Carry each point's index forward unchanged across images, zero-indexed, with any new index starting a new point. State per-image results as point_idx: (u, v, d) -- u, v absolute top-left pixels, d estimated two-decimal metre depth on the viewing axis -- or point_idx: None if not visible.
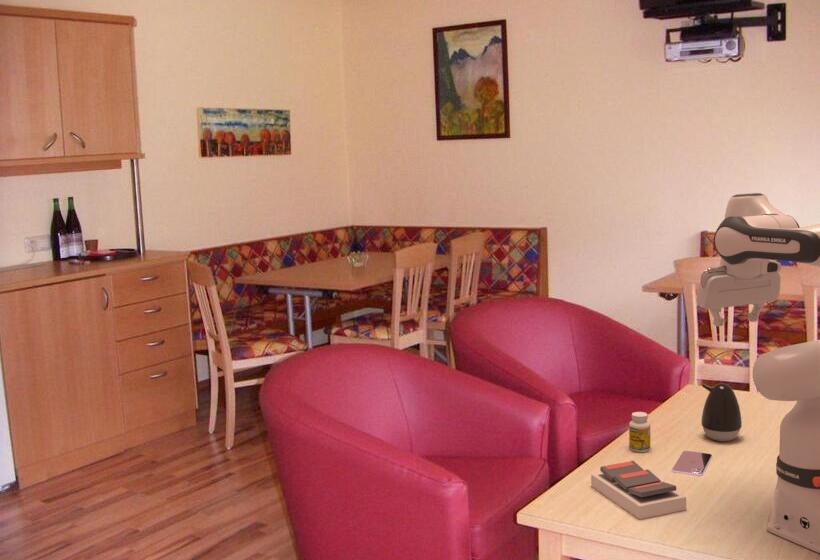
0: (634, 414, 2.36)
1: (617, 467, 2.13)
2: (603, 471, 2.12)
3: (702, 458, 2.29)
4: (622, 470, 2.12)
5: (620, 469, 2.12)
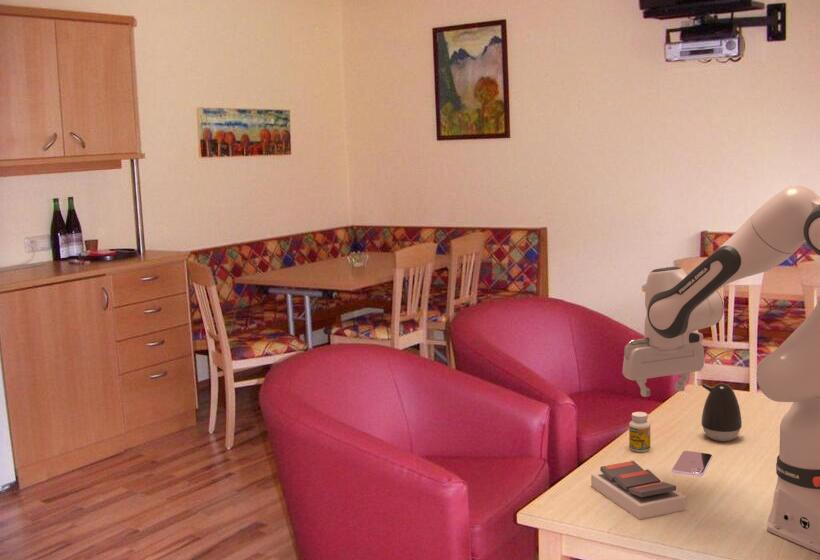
0: (634, 414, 2.36)
1: (617, 467, 2.13)
2: (603, 471, 2.12)
3: (702, 458, 2.29)
4: (622, 470, 2.12)
5: (620, 469, 2.12)
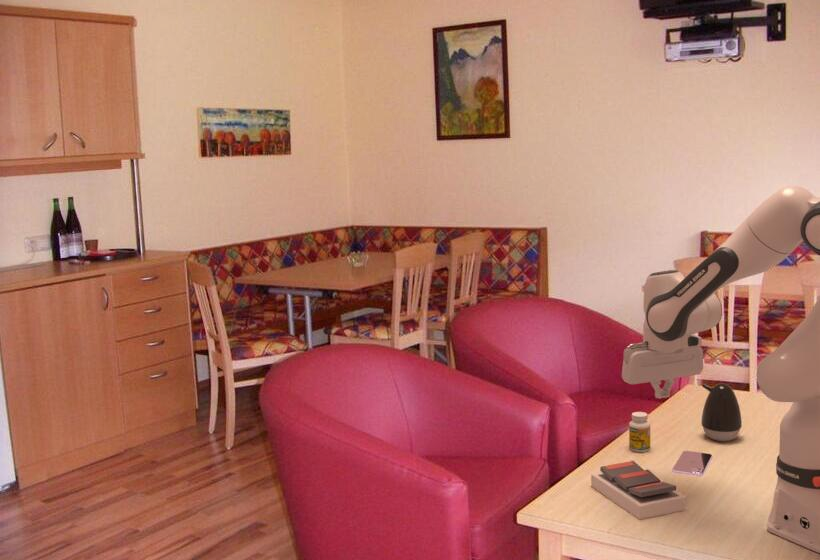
0: (634, 414, 2.36)
1: (617, 467, 2.13)
2: (603, 471, 2.12)
3: (702, 458, 2.29)
4: (622, 470, 2.12)
5: (620, 469, 2.12)
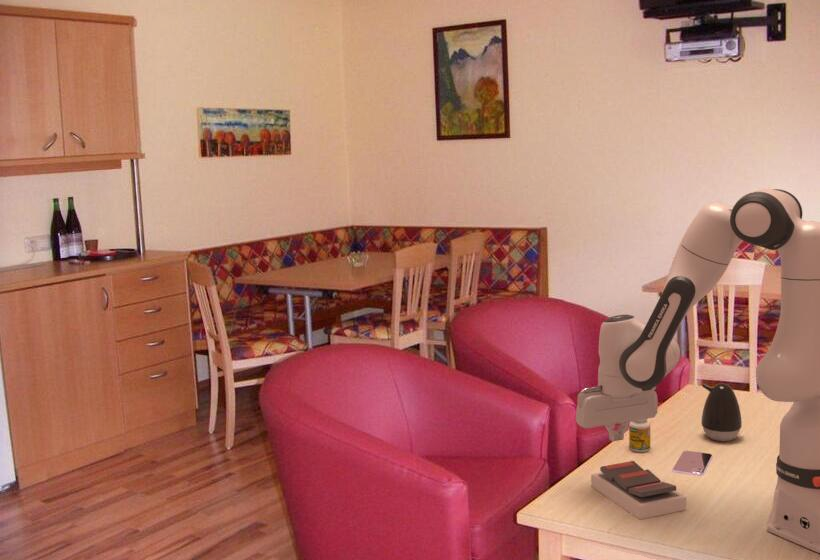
0: None
1: (617, 467, 2.13)
2: (603, 471, 2.12)
3: (702, 458, 2.29)
4: (622, 470, 2.12)
5: (620, 469, 2.12)
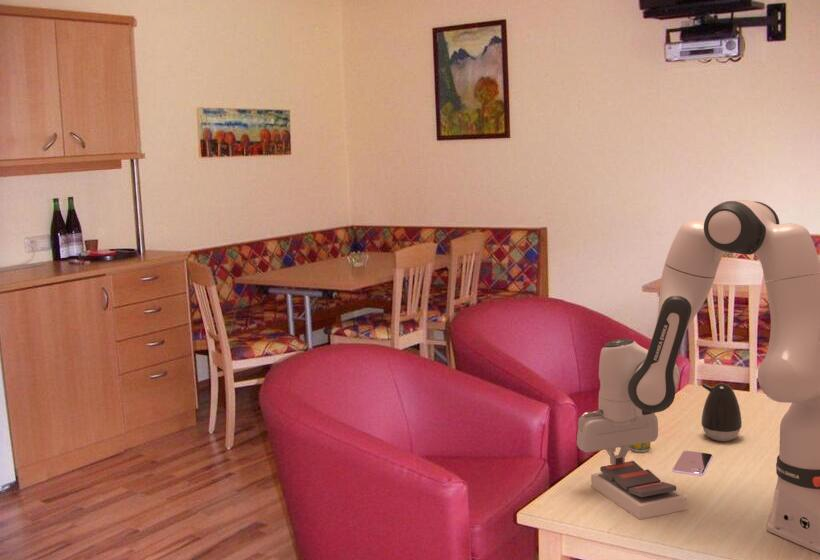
0: None
1: (617, 467, 2.13)
2: (603, 471, 2.12)
3: (702, 458, 2.29)
4: (622, 470, 2.12)
5: (620, 469, 2.12)
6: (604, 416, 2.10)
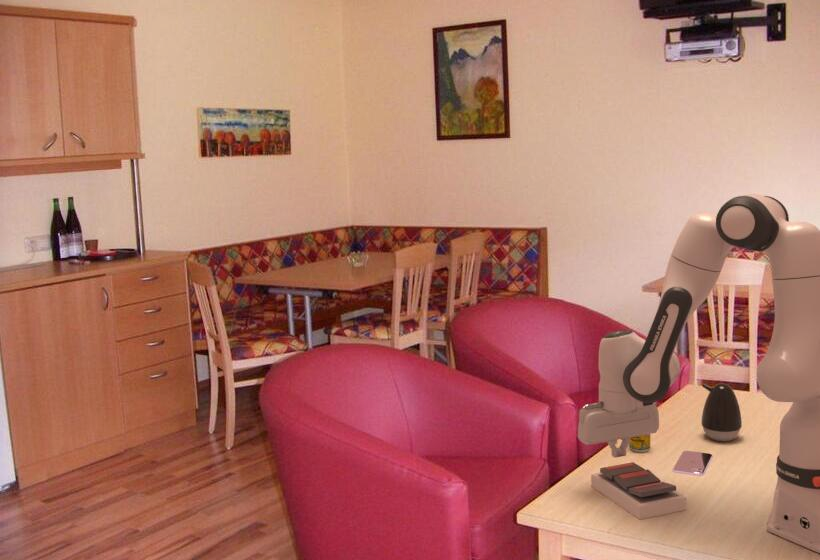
0: None
1: (617, 467, 2.13)
2: (603, 472, 2.12)
3: (702, 458, 2.29)
4: (621, 469, 2.12)
5: (620, 469, 2.13)
6: (605, 408, 2.09)
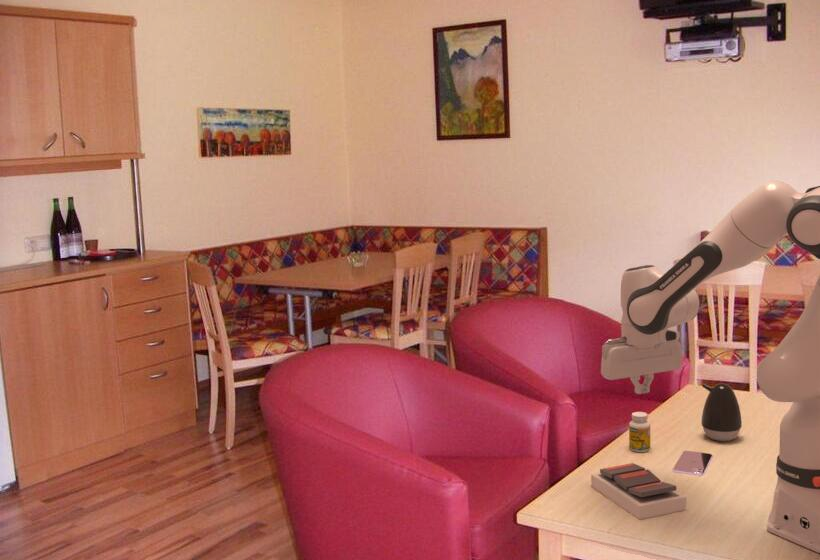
0: (634, 414, 2.36)
1: (616, 468, 2.13)
2: (603, 472, 2.12)
3: (703, 458, 2.29)
4: (621, 469, 2.12)
5: (619, 469, 2.13)
6: (628, 343, 2.08)
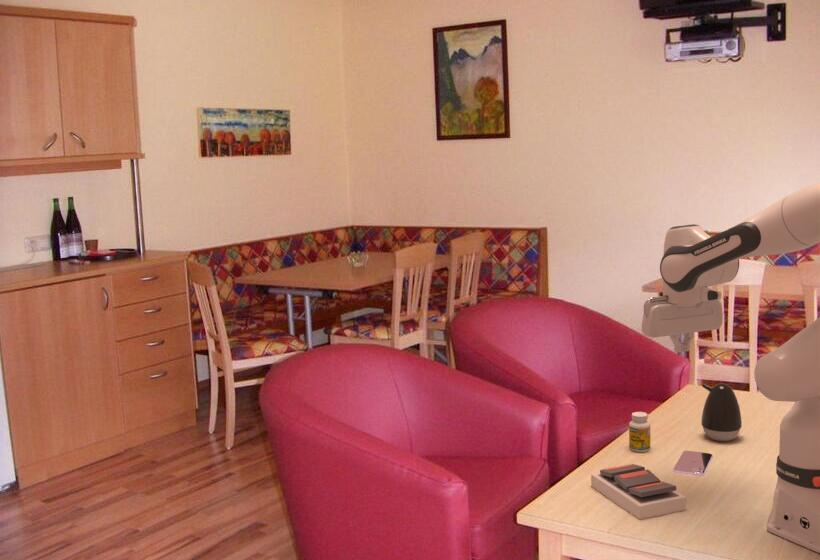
0: (634, 414, 2.36)
1: (616, 468, 2.13)
2: (603, 473, 2.12)
3: (703, 458, 2.29)
4: (621, 469, 2.12)
5: (619, 469, 2.13)
6: (669, 301, 2.09)
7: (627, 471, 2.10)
